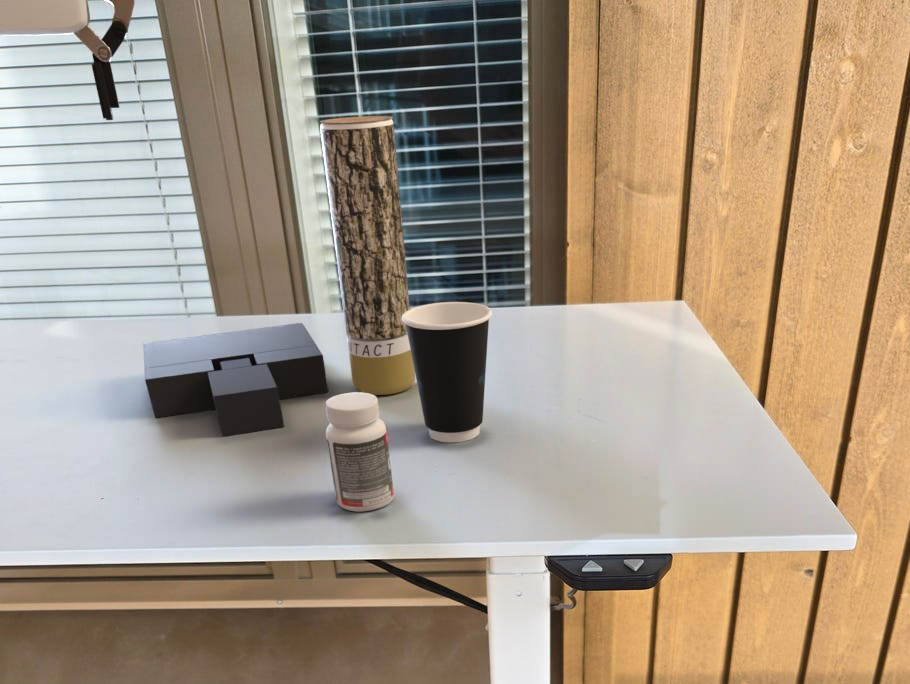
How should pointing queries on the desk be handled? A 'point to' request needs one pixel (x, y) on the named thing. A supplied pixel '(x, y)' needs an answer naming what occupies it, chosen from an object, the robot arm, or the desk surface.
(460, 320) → the dixie cup
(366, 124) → the paper tube
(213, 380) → the dark grey stepped block
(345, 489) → the pill bottle
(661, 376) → the desk surface
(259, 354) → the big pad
